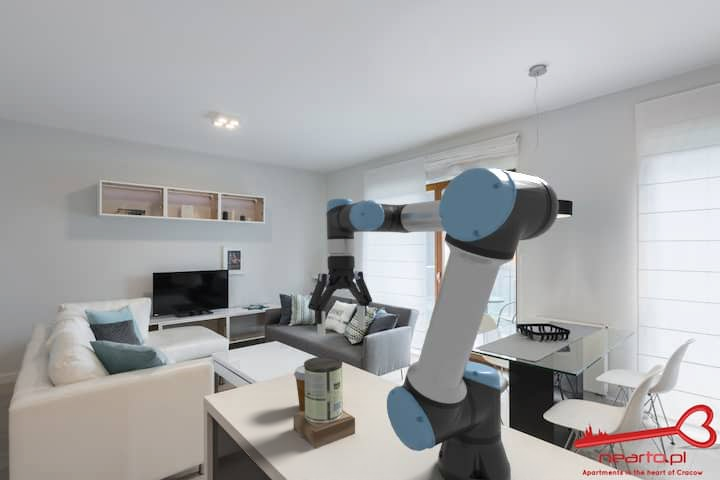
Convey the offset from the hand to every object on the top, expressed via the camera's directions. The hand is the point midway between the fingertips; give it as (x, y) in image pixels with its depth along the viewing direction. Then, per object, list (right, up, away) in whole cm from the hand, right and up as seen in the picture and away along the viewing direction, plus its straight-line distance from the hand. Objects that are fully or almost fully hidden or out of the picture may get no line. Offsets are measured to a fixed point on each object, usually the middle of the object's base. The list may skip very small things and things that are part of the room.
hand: (342, 332), depth 99 cm
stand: (-5, -26, -2) cm, 26 cm away
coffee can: (-5, -22, -2) cm, 22 cm away
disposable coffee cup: (-11, -27, +12) cm, 31 cm away
